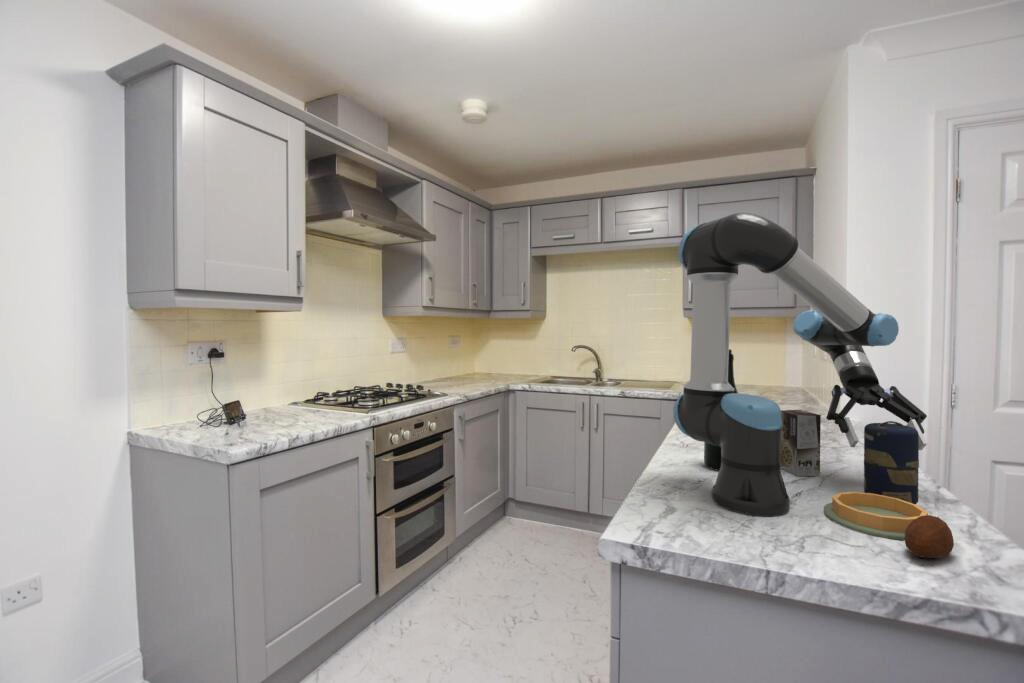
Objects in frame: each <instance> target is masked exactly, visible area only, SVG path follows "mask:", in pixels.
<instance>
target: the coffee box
mask: <svg viewBox="0 0 1024 683" xmlns="http://www.w3.org/2000/svg"><path fill="white" fill-rule="evenodd" d="M780 410H781V420H782V431H781V466H780V468H781V469H782V468H783V470H784V471H786V472H788V473H789V474H790V473H791V474H792V475H795V476H796V477H820V476H821V421H822V420H821V416H822V415H821V414H817V413H814V412H809V411H806V410H802V409H785V410H782V409H780Z"/></svg>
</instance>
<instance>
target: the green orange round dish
mask: <svg viewBox="0 0 1024 683" xmlns="http://www.w3.org/2000/svg"><path fill="white" fill-rule="evenodd" d="M823 514H824V516H825V517H826V518H827V519H829V520H830V521H832V522H833V521H834V523H835V522H836V523H835V524H837V523H838V524H837V525H839V524H840V526H842V527H844V526H845V527H844V528H846V527H847V529H850V530H852V531H855V532H859V533H862V534H866V535H870V536H874V537H880V538H885V539H890V540H899V541H905V531H906V528H907V526H908V525H909V524H910V523H911V522H912V521H913V520H914V519H916V518H918V517H920V516H925V515H929V514H928V511H927V510H925V509H924V508H922V507H921V506H919V505H918V504H916V505H915V504H912V503H909V502H906V501H903V500H900V499H897V498H893V497H888V496H883V495H878V494H871V493H864V492H857V491H847V492H836V494H835V495H833V496H832V497H831V502H829V503H826V504H825V505H824V506H823Z"/></svg>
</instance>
